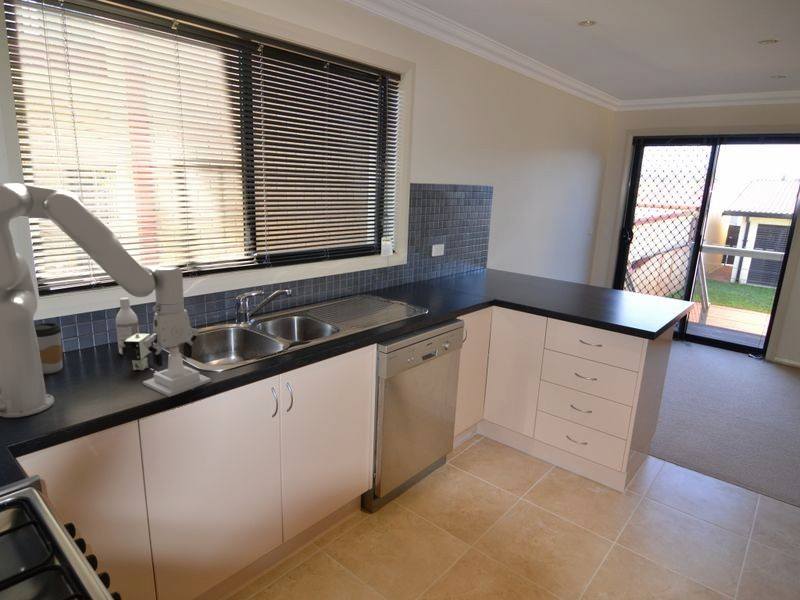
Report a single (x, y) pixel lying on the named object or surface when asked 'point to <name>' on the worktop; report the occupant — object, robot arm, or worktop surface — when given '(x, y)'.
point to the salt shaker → (175, 363)
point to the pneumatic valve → (136, 350)
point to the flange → (176, 381)
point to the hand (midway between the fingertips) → (173, 361)
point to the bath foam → (125, 322)
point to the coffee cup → (49, 346)
